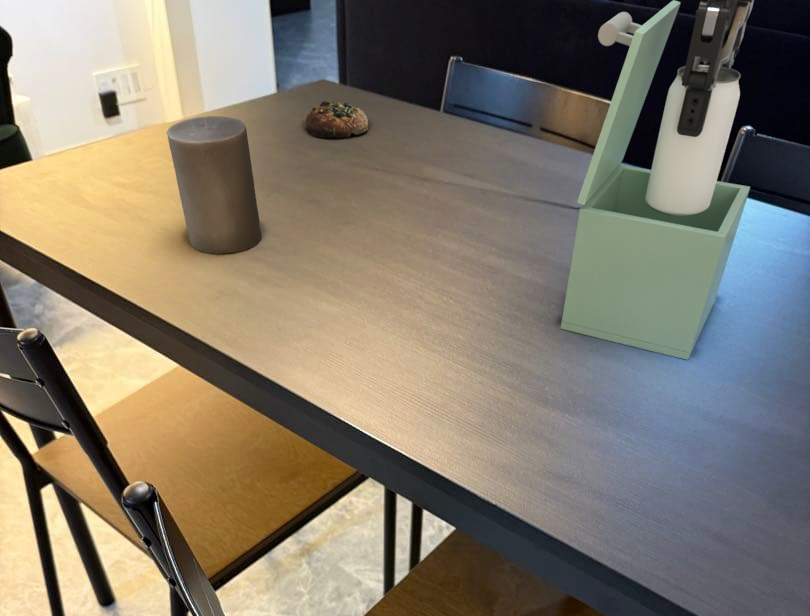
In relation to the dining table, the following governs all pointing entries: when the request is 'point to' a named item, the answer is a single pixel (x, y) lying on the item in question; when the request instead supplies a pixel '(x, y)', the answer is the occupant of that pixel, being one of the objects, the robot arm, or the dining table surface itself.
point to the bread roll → (336, 120)
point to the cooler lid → (627, 89)
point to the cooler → (648, 265)
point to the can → (692, 149)
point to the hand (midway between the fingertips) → (696, 123)
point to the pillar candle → (215, 183)
